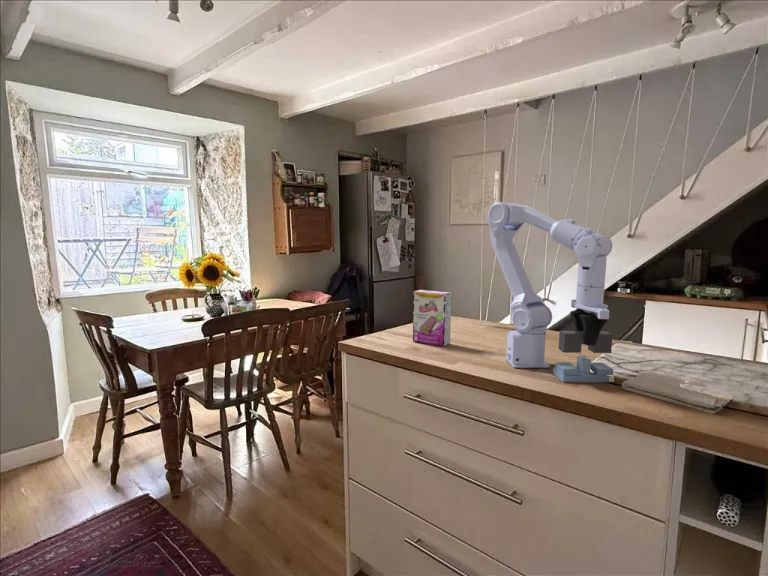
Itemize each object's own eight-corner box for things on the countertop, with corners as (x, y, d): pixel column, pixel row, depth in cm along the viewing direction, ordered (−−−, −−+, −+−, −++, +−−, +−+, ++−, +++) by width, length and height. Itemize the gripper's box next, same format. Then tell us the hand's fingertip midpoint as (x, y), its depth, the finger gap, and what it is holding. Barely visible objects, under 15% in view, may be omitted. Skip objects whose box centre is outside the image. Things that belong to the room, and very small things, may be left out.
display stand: (562, 382, 98) (564, 361, 97) (552, 373, 104) (553, 353, 103) (614, 382, 98) (616, 361, 97) (601, 373, 104) (602, 354, 103)
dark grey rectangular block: (563, 352, 98) (564, 333, 97) (558, 349, 101) (559, 330, 100) (611, 353, 98) (612, 334, 97) (604, 349, 101) (606, 331, 100)
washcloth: (718, 418, 80) (720, 403, 80) (618, 391, 94) (619, 377, 94) (734, 402, 88) (735, 388, 87) (639, 379, 101) (640, 367, 101)
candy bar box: (412, 342, 134) (412, 291, 132) (419, 338, 138) (420, 289, 136) (444, 347, 128) (445, 294, 126) (450, 343, 132) (452, 292, 130)
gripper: (625, 290, 90) (620, 351, 92) (592, 282, 104) (588, 335, 106) (592, 290, 90) (587, 351, 92) (564, 282, 104) (560, 335, 106)
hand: (586, 343), depth 99 cm, fingers closed on dark grey rectangular block, 3 cm apart
